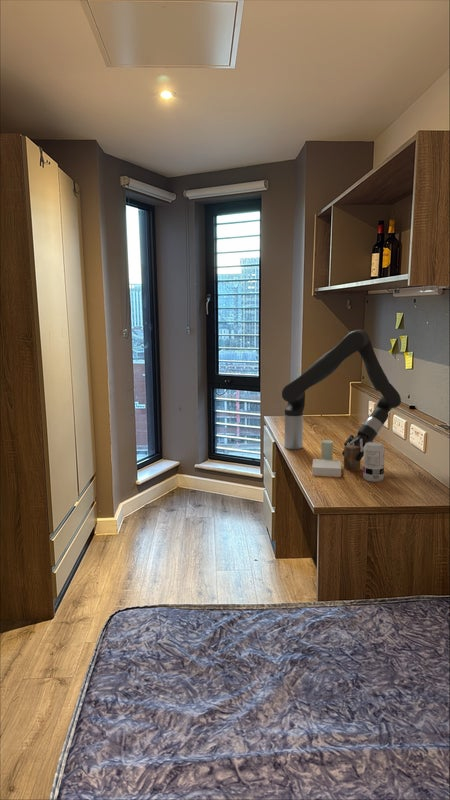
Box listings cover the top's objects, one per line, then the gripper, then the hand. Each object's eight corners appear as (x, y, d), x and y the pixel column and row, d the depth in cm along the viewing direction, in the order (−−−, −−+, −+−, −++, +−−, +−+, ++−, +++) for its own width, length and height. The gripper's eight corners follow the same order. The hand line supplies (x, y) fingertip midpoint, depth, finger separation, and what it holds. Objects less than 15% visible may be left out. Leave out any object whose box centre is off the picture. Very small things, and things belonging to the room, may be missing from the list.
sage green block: (321, 460, 235) (321, 440, 233) (332, 461, 234) (332, 440, 232) (321, 464, 230) (321, 442, 228) (332, 464, 229) (332, 443, 227)
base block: (313, 467, 226) (313, 459, 226) (340, 468, 224) (340, 460, 223) (312, 476, 215) (312, 467, 214) (340, 477, 212) (341, 468, 212)
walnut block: (343, 467, 224) (344, 446, 222) (352, 466, 226) (353, 444, 225) (351, 470, 220) (352, 448, 218) (360, 469, 222) (360, 447, 220)
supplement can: (358, 477, 211) (360, 442, 208) (375, 474, 214) (376, 440, 211) (370, 483, 204) (372, 447, 201) (387, 480, 206) (389, 445, 204)
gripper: (354, 421, 229) (334, 449, 226) (377, 427, 217) (356, 456, 214) (363, 430, 233) (343, 458, 229) (386, 437, 220) (365, 466, 217)
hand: (350, 457), depth 221 cm, fingers open, 8 cm apart
